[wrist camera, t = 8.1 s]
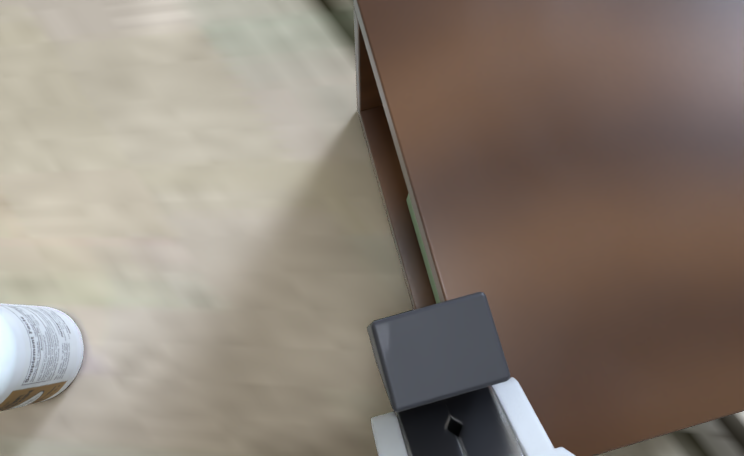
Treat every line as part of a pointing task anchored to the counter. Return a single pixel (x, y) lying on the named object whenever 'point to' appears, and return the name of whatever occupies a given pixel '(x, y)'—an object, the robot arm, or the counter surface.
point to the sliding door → (437, 347)
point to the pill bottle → (36, 354)
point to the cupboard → (573, 194)
